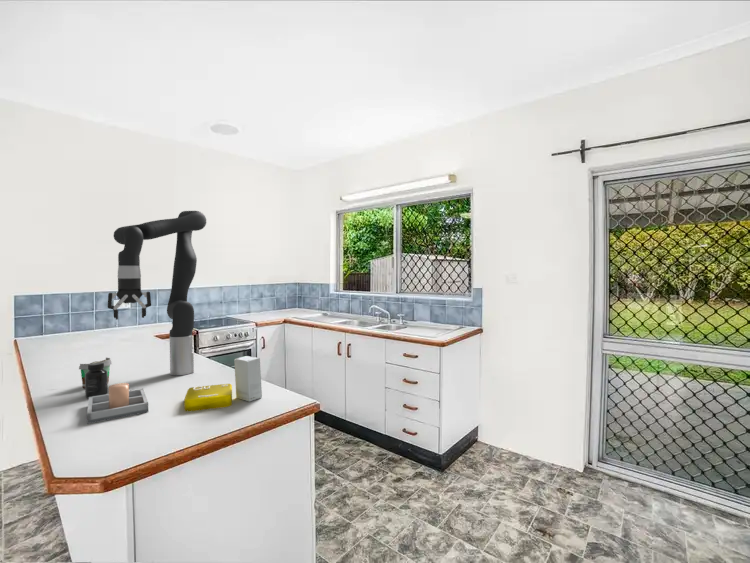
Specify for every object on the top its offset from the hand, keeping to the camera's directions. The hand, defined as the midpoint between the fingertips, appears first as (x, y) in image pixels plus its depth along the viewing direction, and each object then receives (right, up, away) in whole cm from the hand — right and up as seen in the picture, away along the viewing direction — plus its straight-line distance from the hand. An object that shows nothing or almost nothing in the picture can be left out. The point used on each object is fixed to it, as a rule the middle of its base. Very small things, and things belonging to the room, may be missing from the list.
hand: (130, 318), depth 146 cm
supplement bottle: (-8, -29, -7) cm, 30 cm away
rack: (+9, -29, -20) cm, 36 cm away
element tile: (+37, -29, -14) cm, 49 cm away
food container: (-16, -28, +6) cm, 33 cm away
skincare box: (+50, -29, -10) cm, 58 cm away
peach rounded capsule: (+12, -28, -24) cm, 38 cm away
